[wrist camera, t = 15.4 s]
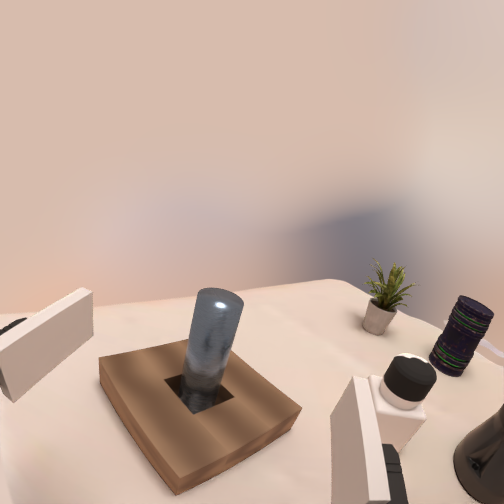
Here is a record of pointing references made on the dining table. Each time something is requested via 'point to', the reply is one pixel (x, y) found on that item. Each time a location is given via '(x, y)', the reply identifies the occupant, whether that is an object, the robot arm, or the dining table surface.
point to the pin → (209, 347)
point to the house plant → (384, 302)
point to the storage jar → (460, 336)
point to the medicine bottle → (401, 398)
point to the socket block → (184, 422)
